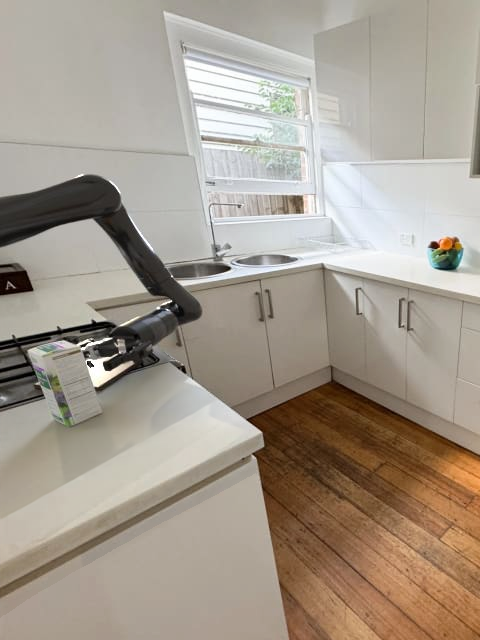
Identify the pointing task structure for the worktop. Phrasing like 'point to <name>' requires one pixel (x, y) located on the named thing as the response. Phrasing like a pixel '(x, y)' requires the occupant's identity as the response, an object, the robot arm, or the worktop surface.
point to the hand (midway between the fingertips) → (83, 366)
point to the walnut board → (104, 373)
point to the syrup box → (65, 382)
